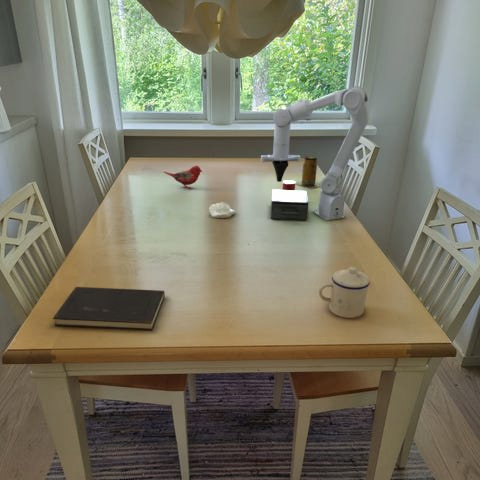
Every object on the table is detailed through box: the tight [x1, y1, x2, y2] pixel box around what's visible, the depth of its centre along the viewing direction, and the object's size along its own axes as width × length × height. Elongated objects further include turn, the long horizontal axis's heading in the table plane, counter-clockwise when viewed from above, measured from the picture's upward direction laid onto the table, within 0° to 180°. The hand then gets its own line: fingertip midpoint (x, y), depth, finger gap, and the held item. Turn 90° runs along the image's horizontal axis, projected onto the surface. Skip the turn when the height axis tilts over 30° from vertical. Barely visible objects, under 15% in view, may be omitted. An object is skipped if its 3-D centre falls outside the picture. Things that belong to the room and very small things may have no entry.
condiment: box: [297, 155, 321, 189], centre depth 211 cm, size 7×8×12 cm
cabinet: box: [270, 189, 309, 221], centre depth 180 cm, size 14×13×7 cm
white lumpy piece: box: [208, 201, 236, 219], centre depth 178 cm, size 10×4×10 cm
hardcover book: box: [52, 286, 166, 332], centre depth 118 cm, size 16×23×2 cm
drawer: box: [273, 203, 307, 220], centre depth 177 cm, size 17×12×5 cm
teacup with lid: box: [318, 266, 371, 319], centre depth 119 cm, size 12×9×12 cm
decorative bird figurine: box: [163, 165, 203, 190], centre depth 204 cm, size 3×18×10 cm, turn 75°
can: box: [281, 179, 296, 190], centre depth 191 cm, size 5×5×8 cm
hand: (279, 181), depth 182 cm, fingers closed
